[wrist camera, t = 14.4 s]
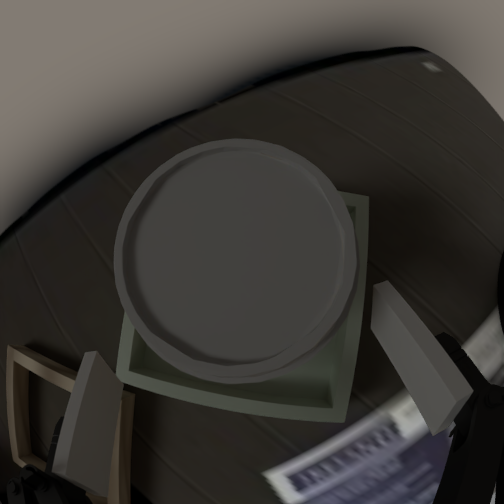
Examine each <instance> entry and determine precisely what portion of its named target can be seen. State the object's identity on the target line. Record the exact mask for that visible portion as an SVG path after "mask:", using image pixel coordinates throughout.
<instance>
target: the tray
mask: <svg viewBox="0 0 504 504" xmlns="http://www.w3.org/2000/svg"><path fill="white" fill-rule="evenodd" d="M338 192H339V194H340V195H341V197H342V198H343V200H344V202H345V205H346V207H347V210H348V212H349V215H350V217H351V219H352V222H353V225H354V229H355V232H356V236H357V240H358V246H359V259H360V270H359V278H358V285H357V291H356V294H355V297H354V299H353V302H352V305H351V308H350V310H349V313H348V316H347V318H346V319H345V321H344V322H343V324H342V325H341V327H340V328H339V330H338V331H337V333H336V334H335V336H334V337H333V339H332V340H331V341H330V342H329V343H328V344H327V345H326V346H325V347H324V348H323V349H322V350H321V351H320V352H318V353H317V354H316V355H315V356H314V357H313V358H312V359H311V360H310V361H308V362H306V363H305V364H303V365H301V366H299V367H298V368H296V369H294V370H292V371H290V372H289V373H287V374H284V375H281V376H278V377H275V378H272V379H269V380H266V381H262V382H256V383H240V384H224V383H218V382H213V381H208V380H203V379H200V378H197V377H195V376H192V375H190V374H187V373H185V372H182V371H180V370H179V369H177V368H175V367H174V366H172V365H171V364H169V363H168V362H166V361H165V360H163V359H162V358H161V357H160V356H159V355H157V354H156V353H155V352H154V351H153V350H152V349H151V348H150V347H149V346H148V345H147V344H146V342H145V341H144V340H143V338H142V337H141V336H140V334H139V333H138V331H137V330H136V329H135V327H134V326H133V325H132V323H131V321H130V319H129V317H128V315H127V314H126V312H125V314H124V319H123V325H122V332H121V338H120V345H119V353H118V360H117V369H116V376H117V377H118V378H119V380H120V381H121V382H123V383H126V384H129V385H132V386H135V387H138V388H142V389H145V390H148V391H151V392H155V393H158V394H162V395H165V396H169V397H172V398H176V399H180V400H184V401H188V402H192V403H196V404H201V405H205V406H210V407H215V408H220V409H225V410H230V411H236V412H241V413H247V414H254V415H261V416H268V417H276V418H284V419H294V420H305V421H320V422H342V423H344V422H345V417H346V413H347V408H348V403H349V398H350V393H351V388H352V383H353V378H354V372H355V366H356V360H357V353H358V347H359V340H360V332H361V324H362V316H363V307H364V296H365V285H366V272H367V255H368V230H369V196H364V195H358V194H352V193H347V192H341V191H338Z"/></svg>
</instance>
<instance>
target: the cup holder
mask: <svg viewBox="0 0 504 504" xmlns="http://www.w3.org/2000/svg"><path fill="white" fill-rule="evenodd" d="M29 370H30V371H32V372H34V373H35V374H37V375H39V376H41V377H42V378H44V379H46V380H48V381H50V382H52V383H53V384H55V385H57V386H59V387H61V388H63V389H65V390H67V391H69V392H71V393H72V390H73V387H74V383H75V380H76V377H77V374H78V372H76V371H74V370H72V369H70V368H67V367H65V366H63V365H61V364H59V363H57V362H55V361H53V360H51V359H49V358H47V357H45V356H43V355H41V354H39V353H37V352H35V351H33V350H31V349H29V348H27V347H26V346H24V345H8V348H7V374H6V388H7V413H8V425H9V435H10V443H11V450H12V456H13V461H14V462H15V463H17V464H18V465H19V466H21V467H22V468H23V467H24V466H25V465H27V464H32V465H34V466H35V467H37V468H38V469H40V470H42V471H43V472H45V468H46V464H47V463H46V462H44V461H43V460H41V459H40V458H38V457H37V456H36V455H34V454H33V453H32V449H31V439H30V426H29V399H28V388H29ZM134 404H135V394H133V393H130V392H127V391H125V390H123V392H122V397H121V402H120V408H119V414H118V419H117V426H116V432H115V439H114V446H113V453H112V462H111V470H110V480H109V492H108V497H103V496H96V495H93V494H91V493H89V492H87V491H86V496H88V497H89V499H90V500H91V501H92V503H93V504H130V470H131V444H132V428H133V415H134Z"/></svg>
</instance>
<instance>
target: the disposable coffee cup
mask: <svg viewBox="0 0 504 504" xmlns="http://www.w3.org/2000/svg"><path fill="white" fill-rule="evenodd" d="M359 270H360V259H359V246H358V240H357V236H356V232H355V229H354V225H353V222H352V219H351V217H350V215H349V212H348V210H347V207H346V205H345V202H344V200H343V198H342V197H341V195H340V194H339V192H338V191H337V189H336V188H335V187H334V185H333V184H332V182H331V181H330V180H329V179H328V178H327V177H326V176H325V175H324V174H323V173H322V172H321V171H320V170H319V169H318V168H317V167H316V166H315V165H313V164H312V163H311V162H309V161H308V160H307V159H305V158H304V157H302V156H300V155H298V154H296V153H294V152H292V151H290V150H288V149H286V148H284V147H282V146H280V145H276V144H271V143H267V142H263V141H259V140H252V139H227V140H220V141H213V142H208V143H205V144H202V145H199V146H196V147H193V148H190V149H188V150H186V151H184V152H181V153H179V154H177V155H176V156H174V157H173V158H171V159H170V160H168V161H167V162H165V163H164V164H162V165H161V166H159V167H158V168H157V169H156V170H155V171H154V172H153V173H152V174H151V175H150V176H149V177H148V178H147V179H146V180H145V181H144V182H143V183H142V185H141V186H140V187H139V188H138V190H137V191H136V192H135V194H134V195H133V197H132V199H131V200H130V202H129V204H128V205H127V207H126V209H125V211H124V214H123V216H122V219H121V222H120V224H119V227H118V232H117V236H116V241H115V246H114V271H115V282H116V287H117V290H118V294H119V297H120V300H121V303H122V306H123V308H124V310H125V312H126V314H127V315H128V317H129V319H130V321H131V323H132V325H133V326H134V327H135V329H136V330H137V331H138V333H139V334H140V336H141V337H142V338H143V340H144V341H145V342H146V344H147V345H148V346H149V347H150V348H151V349H152V350H153V351H154V352H155V353H156V354H157V355H159V356H160V357H161V358H162V359H163V360H165V361H166V362H168V363H169V364H171V365H172V366H174V367H175V368H177V369H179V370H180V371H182V372H185V373H187V374H190V375H192V376H195V377H197V378H200V379H203V380H208V381H213V382H218V383H224V384H240V383H256V382H262V381H266V380H269V379H272V378H275V377H278V376H281V375H284V374H287V373H289V372H290V371H292V370H294V369H296V368H298V367H299V366H301V365H303V364H305V363H306V362H308V361H310V360H311V359H312V358H313V357H314V356H315V355H316V354H317V353H318V352H320V351H321V350H322V349H323V348H324V347H325V346H326V345H327V344H328V343H329V342H330V341H331V340H332V339H333V337H334V336H335V334H336V333H337V331H338V330H339V328H340V327H341V325H342V324H343V322H344V321H345V319H346V318H347V316H348V313H349V310H350V308H351V305H352V302H353V299H354V297H355V294H356V291H357V285H358V278H359Z"/></svg>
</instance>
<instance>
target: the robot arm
mask: <svg viewBox="0 0 504 504" xmlns="http://www.w3.org/2000/svg"><path fill="white" fill-rule="evenodd" d="M498 304H499V314H500V320H501V325H502V329H503V333H504V252H503V255H502V259H501V263H500V269H499V278H498ZM371 330H372V331H373V333H374V334H375V336H376V338H377V339H378V341H379V342H380V344H381V346H382V347H383V349H384V351H385V352H386V354H387V356H388V357H389V359H390V361H391V362H392V364H393V366H394V367H395V369H396V371H397V372H398V374H399V376H400V377H401V379H402V381H403V383H404V384H405V386H406V388H407V389H408V391H409V393H410V395H411V397H412V398H413V400H414V402H415V404H416V405H417V407H418V409H419V411H420V413H421V414H422V416H423V418H424V420H425V422H426V424H427V426H428V427H429V429H430V431H431V433H432V435H433V436H434V435H435V434H437V433H439V432H441V431H442V430H444V429H446V428H447V427H449V426H450V424H451V423H452V422H453V421H454V422H455V424H456V426H455V427H454V429H453V430H452V431H451V432H450V435H449V437H451V436H452V435H453V434H454V435H453V439H452V443H451V447H450V451H449V455H448V459H447V462H446V466H445V469H444V472H443V476H442V479H441V482H440V485H439V488H438V490H437V493H436V496H435V499H434V501H433V504H490V502H491V498H492V495H493V491H494V487H495V483H496V498H495V504H504V387H500V386H498V385H494V384H493V385H491V384H490V383H489V382H488V381H487V380H486V379H485V378H484V376H483V375H482V374H481V372H480V371H479V370H478V368H477V367H476V366H475V364H474V363H473V362H472V360H471V359H470V358H469V356H467V354H466V353H465V351H464V350H463V349H461V346H460V345H459V344H458V342H457V341H456V340H455V339H454V338H453V337H451V336H450V335H448V334H446V333H445V332H443V333H441V334H439V335H437V336H435V337H434V336H433V334H432V333H431V332H430V331H429V329H428V328H427V327H426V326H425V324H424V323H423V322H422V321H421V319H420V318H419V317H418V316H417V314H416V313H415V312H414V311H413V310H412V308H411V307H410V306H409V305H408V303H407V302H406V301H405V300H404V299H403V298H402V296H401V295H400V294H399V293H398V292H397V290H396V289H395V288H394V287H393V286H392V285H391V284H390V282H389V281H388V280H387V281H384V282H381V283H378V284H375V285H373V301H372V317H371ZM123 387H124V384H123V383H122V382H121V381H120V380H119V378H118V377H117V376H116V375H115V374H114V372H113V371H112V370H111V369H110V367H109V366H108V365H107V363H106V362H105V361H104V360H103V358H102V357H101V356H100V354H99V353H98V352H97V351H92V352H85V354H84V357H83V360H82V363H81V366H80V369H79V371H78V374H77V377H76V380H75V383H74V387H73V390H72V393H71V396H70V399H69V403H68V406H67V410H66V413H65V417H61V418H60V419H59V421H58V423H57V424H56V426H55V430H54V434H53V435H54V437H53V438H52V444H51V446H50V450H49V454H48V459H47V464H46V468H45V472H43V471H42V470H40V469H38V468H37V467H35V466H34V465H32V464H27V465H25V466H24V467H23V468H22V469H21V471H20V475H19V479H18V478H16V477H13V478H11V479H10V480H9V481H8V483H7V497H8V504H93V503H92V501H91V500H90V499H89V497H88V496H86V491H87V492H89V493H91V494H93V495H96V496H103V497H108V492H109V480H110V470H111V462H112V453H113V446H114V439H115V432H116V426H117V419H118V414H119V408H120V402H121V397H122V392H123Z"/></svg>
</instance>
